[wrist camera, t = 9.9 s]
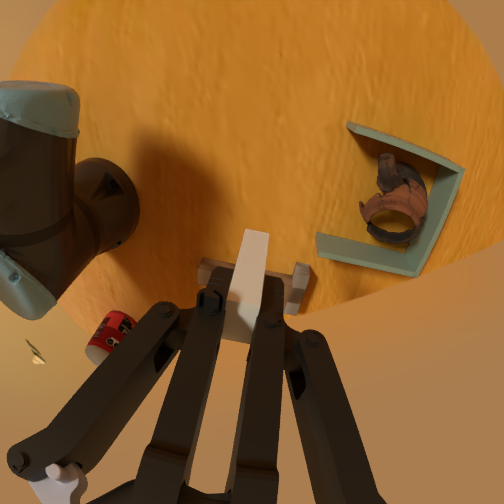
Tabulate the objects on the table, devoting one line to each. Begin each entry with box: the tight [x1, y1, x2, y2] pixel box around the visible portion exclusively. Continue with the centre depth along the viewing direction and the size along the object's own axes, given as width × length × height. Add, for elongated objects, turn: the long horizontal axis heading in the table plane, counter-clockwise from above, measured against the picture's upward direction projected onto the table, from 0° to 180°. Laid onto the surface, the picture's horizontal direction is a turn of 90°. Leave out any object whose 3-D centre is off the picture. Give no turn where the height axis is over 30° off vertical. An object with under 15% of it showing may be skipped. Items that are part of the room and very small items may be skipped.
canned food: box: [85, 311, 136, 366], centre depth 51 cm, size 8×8×11 cm
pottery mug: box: [359, 152, 428, 244], centre depth 32 cm, size 12×10×8 cm
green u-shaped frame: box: [315, 121, 465, 278], centre depth 32 cm, size 15×17×5 cm
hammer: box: [197, 258, 310, 316], centre depth 43 cm, size 16×8×3 cm, turn 81°
